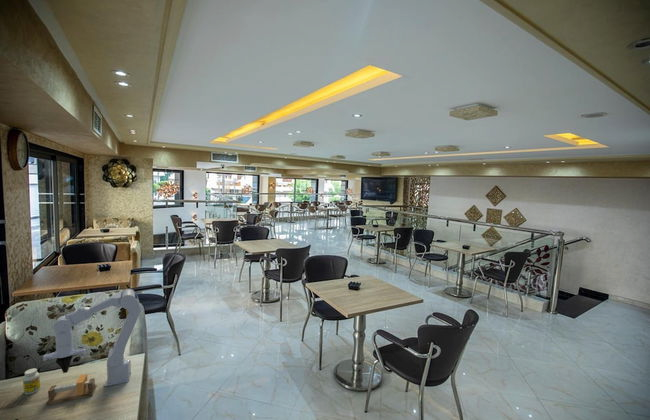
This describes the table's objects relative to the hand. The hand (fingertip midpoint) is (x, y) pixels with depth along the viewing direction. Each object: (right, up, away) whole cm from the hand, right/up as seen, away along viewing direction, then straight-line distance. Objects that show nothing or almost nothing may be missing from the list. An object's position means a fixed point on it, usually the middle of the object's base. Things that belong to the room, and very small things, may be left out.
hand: (65, 371), depth 136 cm
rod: (+3, -8, -1) cm, 8 cm away
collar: (+6, -9, +1) cm, 11 cm away
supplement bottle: (-17, -10, +2) cm, 19 cm away
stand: (+3, -11, 0) cm, 11 cm away
